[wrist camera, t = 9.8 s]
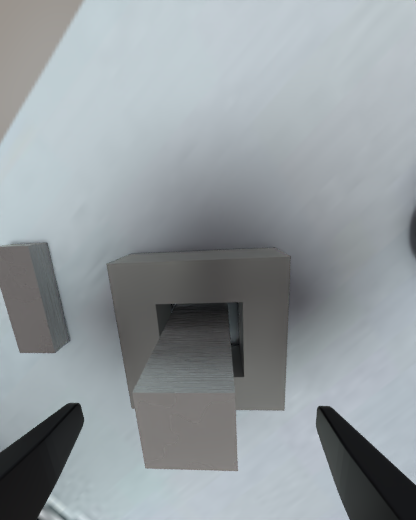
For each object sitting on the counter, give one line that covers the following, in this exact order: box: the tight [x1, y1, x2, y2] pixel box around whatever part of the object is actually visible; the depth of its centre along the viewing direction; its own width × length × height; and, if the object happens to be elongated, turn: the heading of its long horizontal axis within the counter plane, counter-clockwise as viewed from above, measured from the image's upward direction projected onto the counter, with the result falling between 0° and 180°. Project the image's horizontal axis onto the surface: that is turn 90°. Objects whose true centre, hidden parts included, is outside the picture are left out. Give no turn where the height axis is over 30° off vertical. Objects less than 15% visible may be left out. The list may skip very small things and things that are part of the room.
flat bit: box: [0, 243, 70, 353], centre depth 14 cm, size 8×3×2 cm, turn 3°
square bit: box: [132, 303, 238, 471], centre depth 11 cm, size 3×3×8 cm
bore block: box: [107, 247, 291, 411], centre depth 13 cm, size 10×10×3 cm
